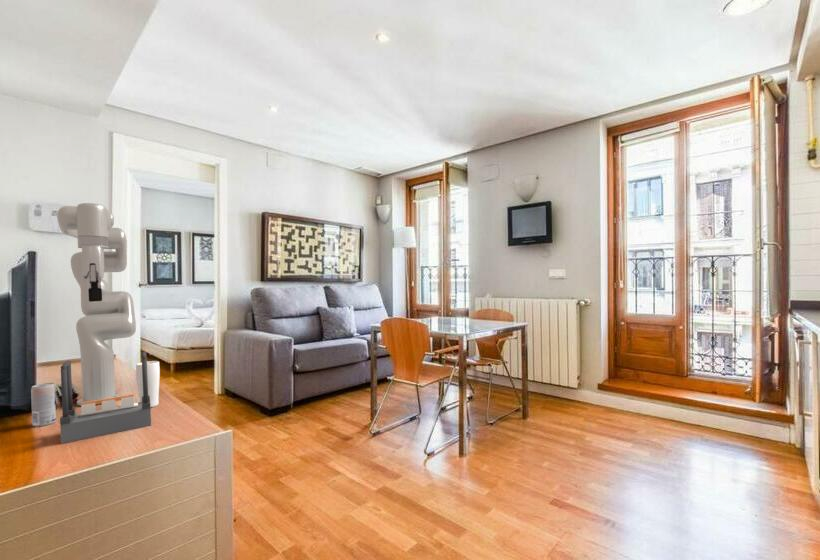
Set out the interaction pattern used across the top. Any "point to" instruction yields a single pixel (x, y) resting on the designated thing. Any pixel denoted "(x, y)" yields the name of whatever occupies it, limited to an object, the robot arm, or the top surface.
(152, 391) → the white cylinder
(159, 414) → the top surface
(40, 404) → the energy drink
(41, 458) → the top surface
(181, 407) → the top surface
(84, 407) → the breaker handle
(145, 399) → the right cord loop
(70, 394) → the dark gray upright panel
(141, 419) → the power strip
